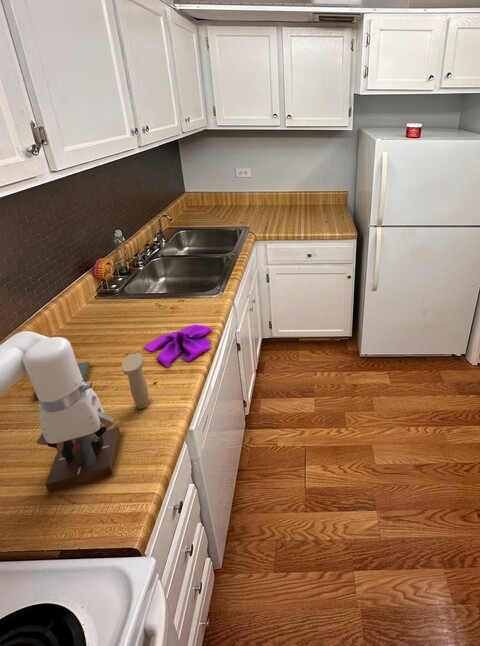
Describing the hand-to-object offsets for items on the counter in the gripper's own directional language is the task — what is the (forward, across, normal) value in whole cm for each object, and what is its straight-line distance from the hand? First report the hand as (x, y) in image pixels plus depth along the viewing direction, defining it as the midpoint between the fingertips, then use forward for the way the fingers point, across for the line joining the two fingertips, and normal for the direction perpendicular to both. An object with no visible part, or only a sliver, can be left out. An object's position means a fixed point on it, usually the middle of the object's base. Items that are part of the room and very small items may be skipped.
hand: (85, 452), depth 76 cm
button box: (+3, +13, -29) cm, 32 cm away
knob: (0, 0, 0) cm, 0 cm away
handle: (+3, -10, -13) cm, 17 cm away
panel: (+3, 0, 0) cm, 3 cm away
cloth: (+3, -18, -35) cm, 40 cm away
